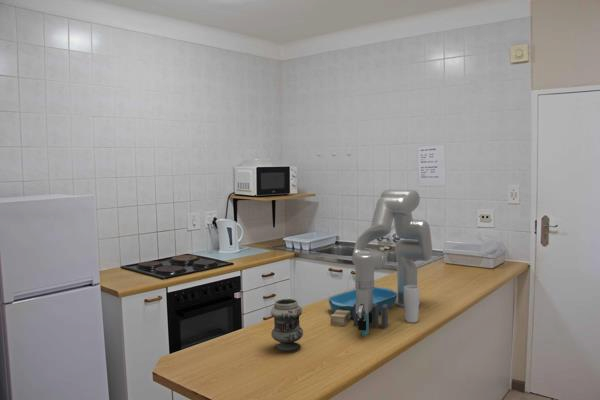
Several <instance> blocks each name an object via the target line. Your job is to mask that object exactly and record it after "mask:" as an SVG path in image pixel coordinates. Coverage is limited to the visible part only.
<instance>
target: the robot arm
mask: <svg viewBox="0 0 600 400" xmlns="http://www.w3.org/2000/svg"><path fill="white" fill-rule="evenodd" d="M420 200H421V199H420V195H419V193H418V191H417V190H414V189H386V190H383V191H382V192H381V194H380V197H379V198H378V200H377V202H376V204H375V208H374V212H373V217H372V220H371V223H370V227H368V228H367V229H366V230H365V231H364V232H362V233H361V235H360V236H359V237H358V238H357V239H356V242H355V244H354V248H353V251H352V256H351V257H352V258H351V259H352V260H351V261H352V265H354V267H355V268H354V269H355V270H354V271H355V272H354V273H355V274H354V276H355V278H354V279H355V281H354V282H355V283H354V285H355V286H354V287H355V288H354V289H357V293H356V314H358V326H357V330H358V331H362V330H363V331H366V320H365V319H366V315H367V314H368V313H369V324H372V307H373V295H372V289H374V287H375V271H378V270H382V269H384V268H385V267H386V266H387V264H388V257H387V255H386V253H385V252H383V251H380V250H371V249H366V247H367V246H368V245H369V244H370V243H371V242H373V241H375V240H377V239H380V238H382V237H385V236H388V235H389V234H390V233H391V230H392V225H394V231H395V234H396V237H397V238H398V239H400V240H398V241H397V242H396V243H395V246H394V252H395V257H396V274H397V275H396V277H397V281H396V282H397V283H396V285H397V287H396V288H397V289H396V290H397V291H396V292H397V293H398V295H397V298H396V301H395V303H394V305H395V306H398V307H401V308H405V305H404V286H407V285H414V286H418V267H417V265H416V262H414V261H420V262H421V261H422V262H426V261H427V262H429V261H430V260H431V258H432V256H433V244H432V243H433V242H432V235H431V228H430V227H431V226H430V225H429V223H428V221H426V220H424V219H414V218H413V215H412V213H413V212H414V211H415V210H416V209H417V208H418V207H419V204H420ZM393 223H394V224H393ZM421 305H422V302H421V300H419V307H420V306H421ZM362 312H365V313H362ZM363 315H364V317H363Z"/></svg>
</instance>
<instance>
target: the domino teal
mask: <svg viewBox="0 0 600 400" xmlns="http://www.w3.org/2000/svg"><path fill="white" fill-rule="evenodd" d="M363 313H365V312H363ZM363 317H364V315H363ZM365 320H366V331H363V330H361V336H362V337H367V336H368V334H369V333H370V323H369V313H368V314H367V315H366V319H365Z"/></svg>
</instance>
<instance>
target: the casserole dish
mask: <svg viewBox="0 0 600 400" xmlns="http://www.w3.org/2000/svg"><path fill="white" fill-rule="evenodd" d="M356 293H357V289H356V288H354V289H351V290H348V291H344V292H341V293H337V294H334V295H332V296H329V297H328V298H327V300H328V303H329V306H330V309H331V310H332V312H333V313H334V312H335V311H336V310H348V311H350V313H351V319H354V312H353V305H354V304H355V303H356ZM372 295H373V305H374V303H377V304H378V314H379V313H381V307H382V306H383V305H384V304H388V310H390V309H391V308H393V306H394V305H395V304H394V303H395V301H396V300H397V295H398V293H397V291H394V290H393V289H392V288H391V289H390V288H388V287H380V286H374V289H372ZM362 313H363V312H362Z"/></svg>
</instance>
